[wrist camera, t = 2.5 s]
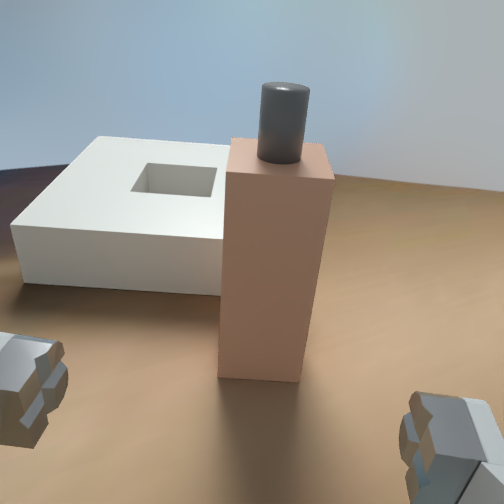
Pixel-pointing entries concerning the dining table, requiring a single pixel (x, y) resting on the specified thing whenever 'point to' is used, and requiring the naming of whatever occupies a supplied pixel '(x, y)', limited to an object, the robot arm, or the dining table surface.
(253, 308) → the plug
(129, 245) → the socket
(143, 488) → the dining table surface
